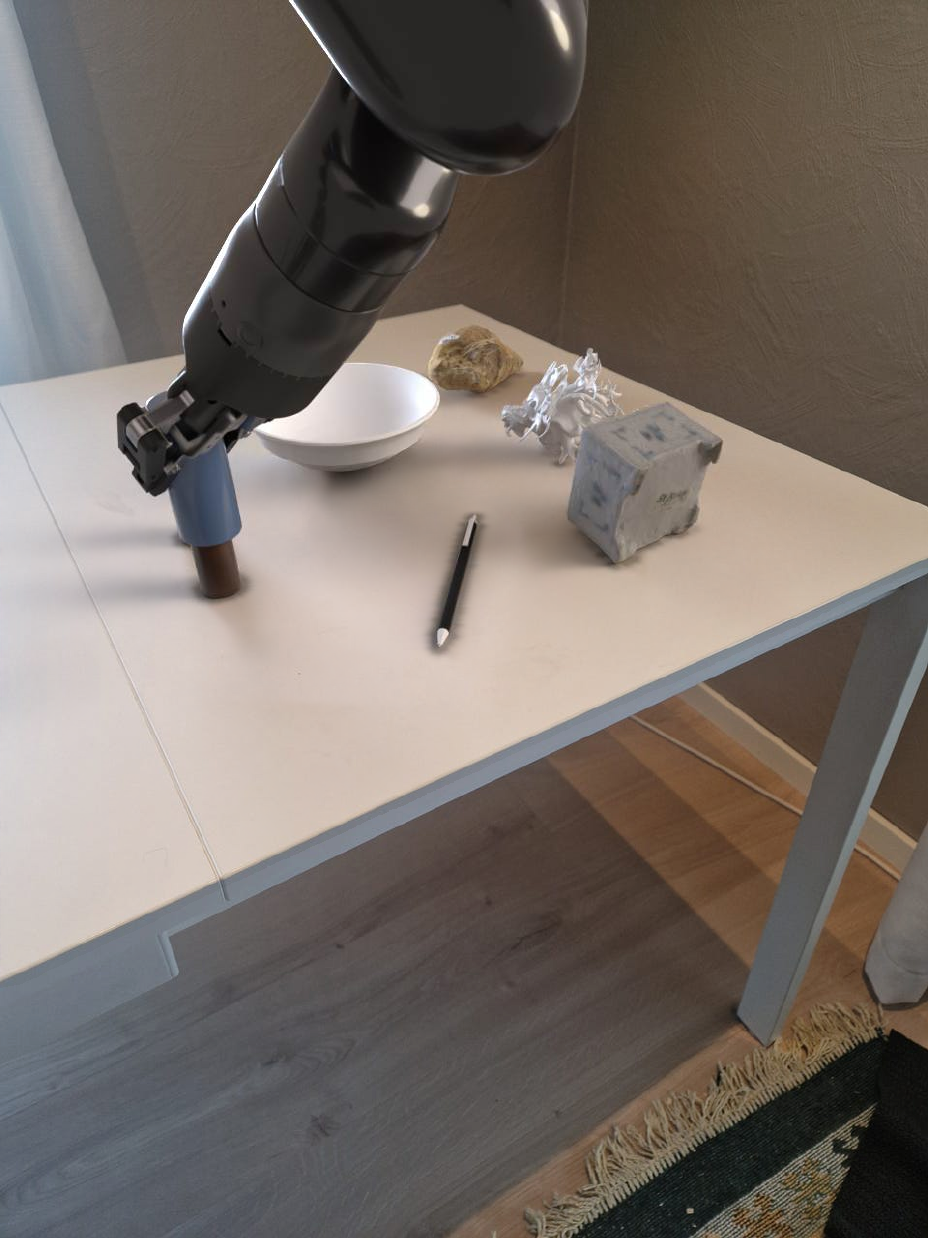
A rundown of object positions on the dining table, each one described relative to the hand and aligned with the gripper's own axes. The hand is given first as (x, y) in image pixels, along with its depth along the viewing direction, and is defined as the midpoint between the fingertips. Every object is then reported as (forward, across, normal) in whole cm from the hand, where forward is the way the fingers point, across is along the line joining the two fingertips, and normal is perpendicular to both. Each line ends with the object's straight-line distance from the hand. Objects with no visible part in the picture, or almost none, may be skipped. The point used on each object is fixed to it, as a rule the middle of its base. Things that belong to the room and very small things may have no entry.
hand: (176, 467), depth 55 cm
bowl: (+21, -29, +2) cm, 36 cm away
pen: (+5, -18, +18) cm, 26 cm away
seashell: (+20, -52, +3) cm, 55 cm away
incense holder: (-2, -32, +24) cm, 40 cm away
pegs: (+18, -8, +4) cm, 20 cm away
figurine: (+7, -44, +16) cm, 47 cm away
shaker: (+1, 0, +4) cm, 5 cm away
